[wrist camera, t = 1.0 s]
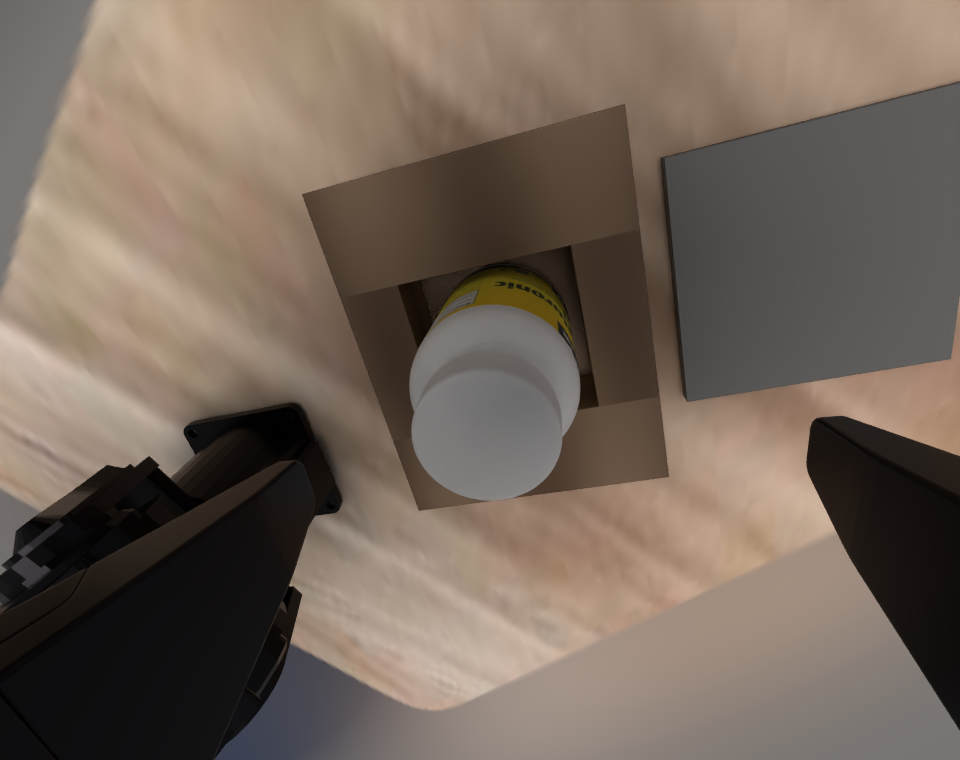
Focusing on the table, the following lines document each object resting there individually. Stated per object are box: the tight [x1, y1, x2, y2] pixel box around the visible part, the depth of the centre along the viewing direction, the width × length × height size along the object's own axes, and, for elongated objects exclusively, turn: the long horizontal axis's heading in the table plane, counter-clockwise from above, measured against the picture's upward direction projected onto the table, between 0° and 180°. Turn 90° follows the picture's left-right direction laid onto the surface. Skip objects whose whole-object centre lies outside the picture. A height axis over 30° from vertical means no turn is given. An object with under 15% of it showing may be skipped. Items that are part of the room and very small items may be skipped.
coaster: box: [661, 82, 960, 402], centre depth 19 cm, size 10×10×1 cm
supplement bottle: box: [409, 264, 580, 501], centre depth 17 cm, size 5×5×10 cm
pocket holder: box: [302, 104, 669, 511], centre depth 20 cm, size 11×14×3 cm
